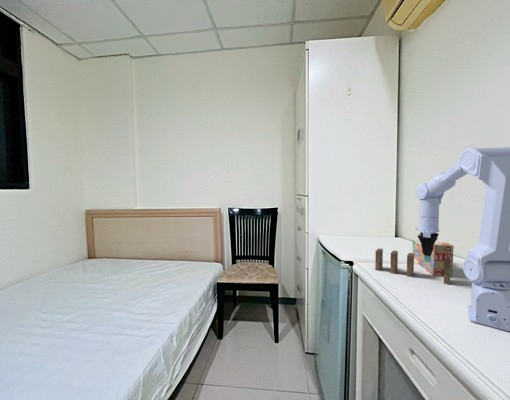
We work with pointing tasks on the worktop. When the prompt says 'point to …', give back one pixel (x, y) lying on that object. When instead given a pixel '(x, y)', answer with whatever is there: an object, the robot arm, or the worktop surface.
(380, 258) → the walnut domino
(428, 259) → the teal domino
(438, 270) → the stack of blocks
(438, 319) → the worktop surface
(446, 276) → the walnut domino
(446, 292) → the worktop surface
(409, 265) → the walnut domino
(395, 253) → the walnut domino
